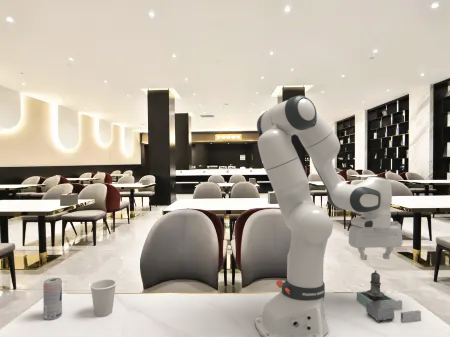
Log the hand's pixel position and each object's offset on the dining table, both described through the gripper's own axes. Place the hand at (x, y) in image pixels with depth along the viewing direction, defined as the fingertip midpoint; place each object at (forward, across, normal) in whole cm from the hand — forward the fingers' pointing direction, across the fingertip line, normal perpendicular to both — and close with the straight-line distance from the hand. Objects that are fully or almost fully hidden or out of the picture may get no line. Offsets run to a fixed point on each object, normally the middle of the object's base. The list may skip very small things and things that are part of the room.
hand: (374, 259), depth 113 cm
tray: (+17, -1, 0) cm, 17 cm away
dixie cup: (+21, +94, -14) cm, 98 cm away
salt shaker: (+16, -1, 0) cm, 16 cm away
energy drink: (+21, +110, -15) cm, 113 cm away
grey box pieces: (+17, 0, +9) cm, 19 cm away
